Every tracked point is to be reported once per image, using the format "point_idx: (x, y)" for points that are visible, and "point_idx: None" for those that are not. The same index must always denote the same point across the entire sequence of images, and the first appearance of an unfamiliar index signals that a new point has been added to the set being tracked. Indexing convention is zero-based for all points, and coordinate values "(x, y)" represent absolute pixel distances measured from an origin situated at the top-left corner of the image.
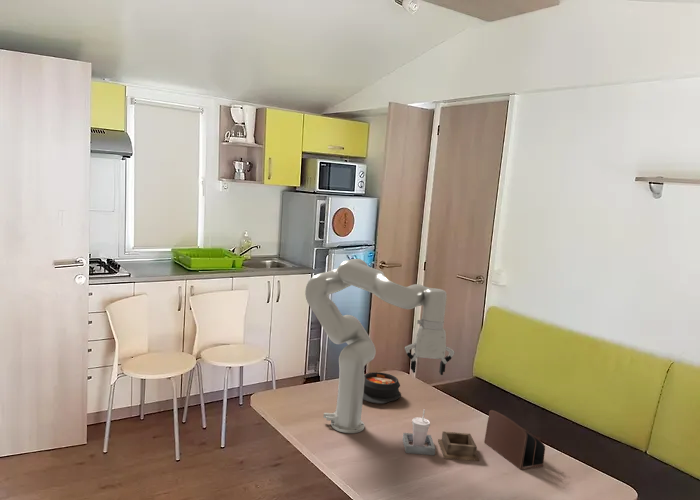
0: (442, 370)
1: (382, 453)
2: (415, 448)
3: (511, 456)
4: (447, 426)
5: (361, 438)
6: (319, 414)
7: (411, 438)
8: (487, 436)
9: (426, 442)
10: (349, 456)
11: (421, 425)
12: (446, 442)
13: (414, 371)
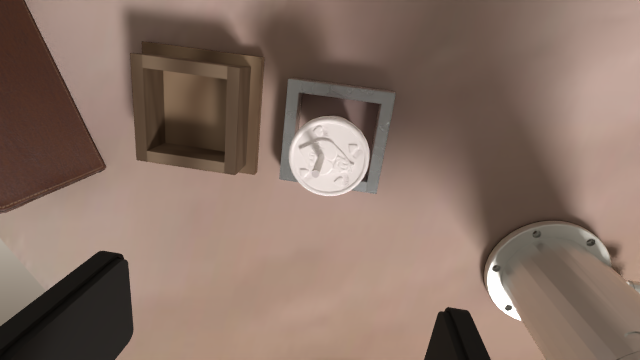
0: (69, 284)
1: (482, 84)
2: (361, 88)
3: (23, 36)
4: (202, 268)
5: (522, 189)
6: None
7: None
8: (81, 165)
9: None
10: (622, 56)
11: (338, 119)
12: (239, 95)
13: (456, 316)
